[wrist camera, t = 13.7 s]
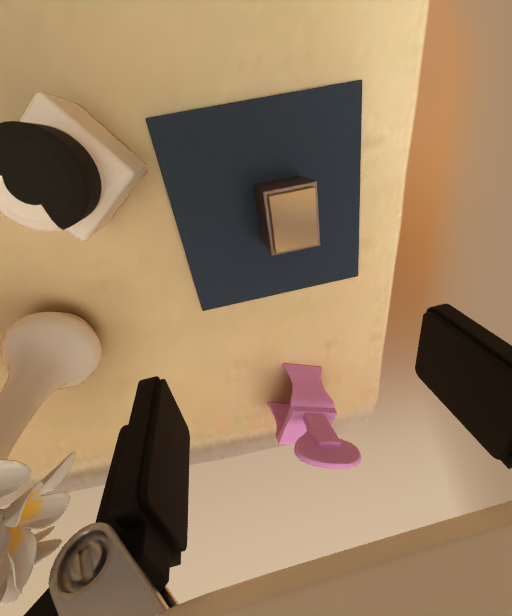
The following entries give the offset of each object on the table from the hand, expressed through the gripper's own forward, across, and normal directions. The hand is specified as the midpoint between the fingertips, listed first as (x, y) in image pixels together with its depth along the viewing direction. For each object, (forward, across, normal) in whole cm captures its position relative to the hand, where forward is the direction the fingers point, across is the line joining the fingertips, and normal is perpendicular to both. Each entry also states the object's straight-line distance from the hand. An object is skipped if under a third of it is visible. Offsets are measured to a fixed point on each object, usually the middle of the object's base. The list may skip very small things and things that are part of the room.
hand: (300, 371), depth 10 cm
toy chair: (+24, -4, +27) cm, 37 cm away
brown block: (+24, -5, 0) cm, 24 cm away
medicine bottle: (+25, +12, -7) cm, 28 cm away
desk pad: (+24, -4, 0) cm, 25 cm away
